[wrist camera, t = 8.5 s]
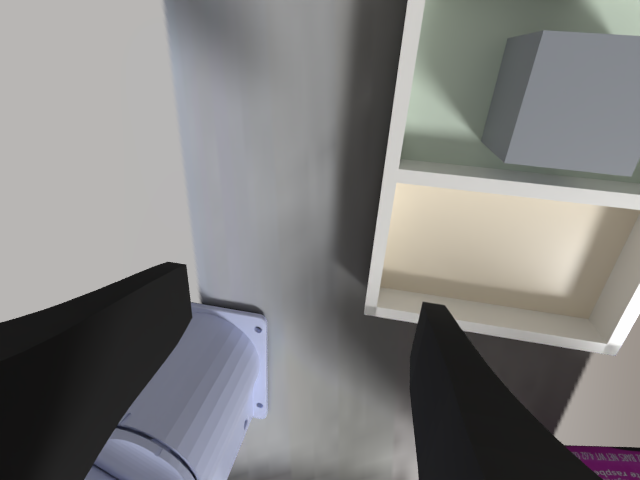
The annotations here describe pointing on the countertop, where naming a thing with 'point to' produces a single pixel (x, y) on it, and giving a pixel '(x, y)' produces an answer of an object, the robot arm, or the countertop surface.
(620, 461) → the candy bar box
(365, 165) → the countertop surface
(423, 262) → the two-bin tray
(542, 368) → the countertop surface
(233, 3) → the countertop surface
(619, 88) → the slate block
